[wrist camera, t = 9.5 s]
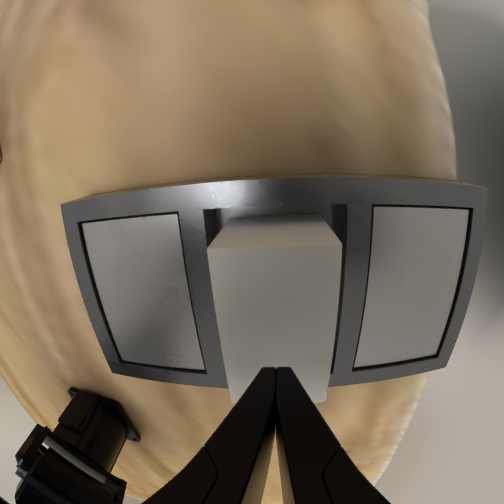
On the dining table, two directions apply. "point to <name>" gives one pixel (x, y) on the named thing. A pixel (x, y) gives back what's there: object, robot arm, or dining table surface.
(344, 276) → the frame
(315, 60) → the dining table surface
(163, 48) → the dining table surface
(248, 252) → the light grey rectangular block
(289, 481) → the robot arm
